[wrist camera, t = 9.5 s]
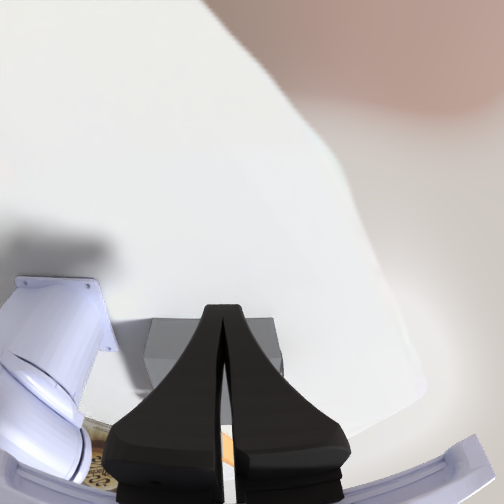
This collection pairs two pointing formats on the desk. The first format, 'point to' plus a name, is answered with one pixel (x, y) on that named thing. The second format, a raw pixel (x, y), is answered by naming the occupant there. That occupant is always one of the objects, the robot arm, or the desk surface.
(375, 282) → the desk surface
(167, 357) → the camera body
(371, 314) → the desk surface
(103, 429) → the coffee box
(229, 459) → the side door
